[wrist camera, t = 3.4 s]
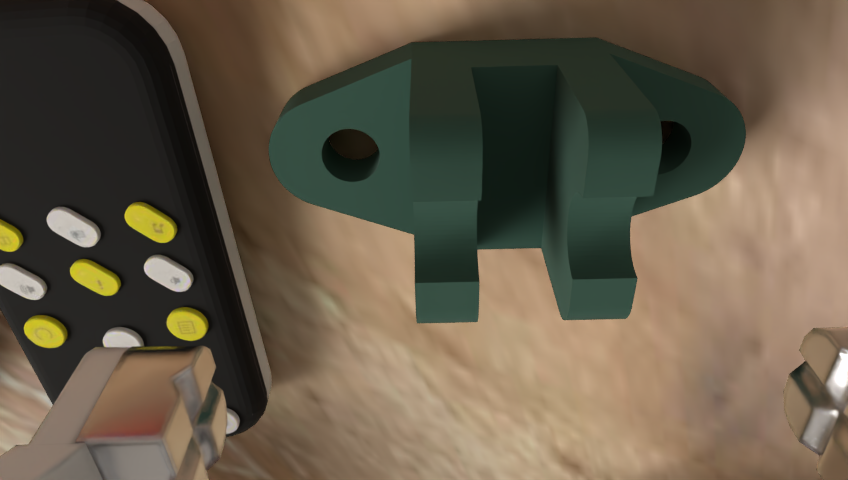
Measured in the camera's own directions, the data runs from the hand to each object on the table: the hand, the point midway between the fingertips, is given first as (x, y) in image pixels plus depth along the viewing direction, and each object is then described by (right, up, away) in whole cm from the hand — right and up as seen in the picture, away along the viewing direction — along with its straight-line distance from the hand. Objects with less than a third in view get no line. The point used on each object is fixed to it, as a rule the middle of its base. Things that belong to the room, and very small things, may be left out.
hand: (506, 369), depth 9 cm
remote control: (-9, +2, +8) cm, 13 cm away
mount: (+1, +5, +7) cm, 8 cm away
